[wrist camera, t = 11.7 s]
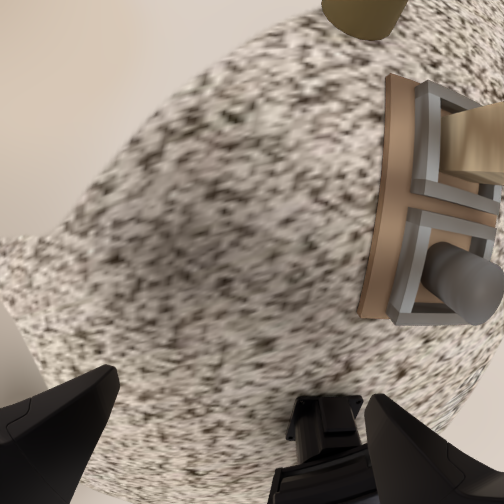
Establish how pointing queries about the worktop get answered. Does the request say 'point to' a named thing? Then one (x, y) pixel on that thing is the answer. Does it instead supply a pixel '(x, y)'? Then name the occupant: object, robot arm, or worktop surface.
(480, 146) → the maple pin
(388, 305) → the board
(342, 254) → the worktop surface
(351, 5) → the olive green peg figure
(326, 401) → the robot arm
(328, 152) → the worktop surface
